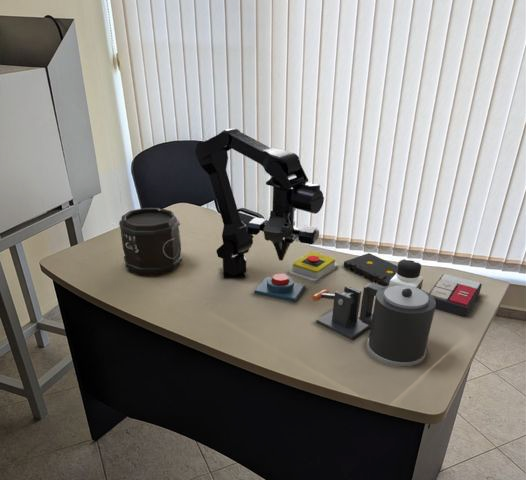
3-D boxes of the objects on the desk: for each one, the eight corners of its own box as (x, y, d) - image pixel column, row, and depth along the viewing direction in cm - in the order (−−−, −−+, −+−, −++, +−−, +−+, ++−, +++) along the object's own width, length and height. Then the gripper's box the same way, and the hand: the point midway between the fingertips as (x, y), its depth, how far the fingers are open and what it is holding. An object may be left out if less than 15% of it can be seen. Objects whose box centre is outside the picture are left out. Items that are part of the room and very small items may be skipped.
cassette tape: (343, 267, 155) (343, 260, 154) (368, 258, 161) (369, 252, 160) (387, 289, 143) (388, 282, 142) (412, 278, 149) (414, 272, 148)
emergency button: (288, 261, 148) (314, 245, 158) (288, 274, 150) (313, 257, 160) (315, 269, 143) (340, 252, 153) (314, 283, 145) (338, 265, 156)
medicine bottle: (411, 310, 133) (419, 270, 126) (385, 303, 136) (392, 263, 130) (419, 299, 138) (427, 260, 132) (394, 292, 141) (401, 254, 135)
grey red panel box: (427, 293, 133) (443, 271, 144) (424, 307, 136) (440, 284, 146) (469, 305, 128) (483, 281, 139) (465, 319, 131) (479, 294, 141)
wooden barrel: (186, 252, 162) (183, 206, 154) (179, 277, 147) (176, 227, 138) (130, 252, 161) (124, 205, 153) (118, 277, 146) (111, 226, 138)
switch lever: (312, 302, 127) (311, 293, 126) (324, 296, 130) (323, 287, 129) (346, 306, 119) (345, 297, 119) (358, 299, 122) (357, 290, 122)
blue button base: (254, 294, 138) (254, 283, 137) (266, 281, 146) (266, 270, 144) (294, 303, 135) (295, 292, 133) (304, 289, 142) (305, 278, 140)
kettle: (343, 344, 119) (351, 283, 110) (375, 323, 127) (384, 264, 118) (406, 375, 109) (420, 310, 100) (435, 350, 117) (451, 288, 109)
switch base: (315, 323, 126) (319, 290, 121) (337, 311, 132) (340, 278, 127) (351, 341, 120) (356, 306, 115) (372, 327, 125) (377, 293, 120)
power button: (270, 284, 137) (270, 278, 137) (275, 277, 141) (275, 272, 140) (284, 287, 136) (285, 281, 135) (290, 280, 140) (290, 275, 139)
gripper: (237, 208, 123) (238, 265, 132) (308, 219, 118) (304, 278, 126) (254, 196, 132) (254, 250, 140) (321, 206, 127) (317, 261, 135)
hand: (281, 259), depth 135 cm, fingers closed
